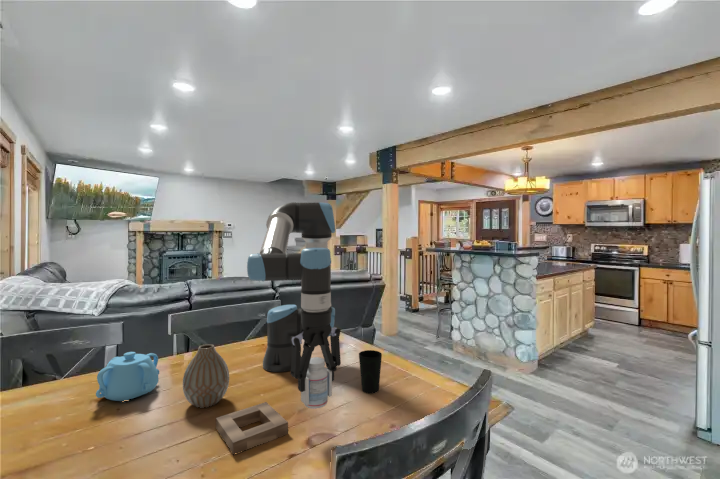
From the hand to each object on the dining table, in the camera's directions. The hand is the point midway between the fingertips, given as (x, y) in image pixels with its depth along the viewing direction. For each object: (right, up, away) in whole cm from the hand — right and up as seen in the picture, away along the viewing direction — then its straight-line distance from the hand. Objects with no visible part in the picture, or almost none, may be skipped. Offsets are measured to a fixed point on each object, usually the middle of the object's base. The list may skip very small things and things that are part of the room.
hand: (316, 398), depth 87 cm
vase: (-36, -10, +18) cm, 42 cm away
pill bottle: (0, -2, 0) cm, 2 cm away
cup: (+15, -10, +26) cm, 32 cm away
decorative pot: (-64, -10, +24) cm, 69 cm away
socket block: (-17, -10, +2) cm, 20 cm away
